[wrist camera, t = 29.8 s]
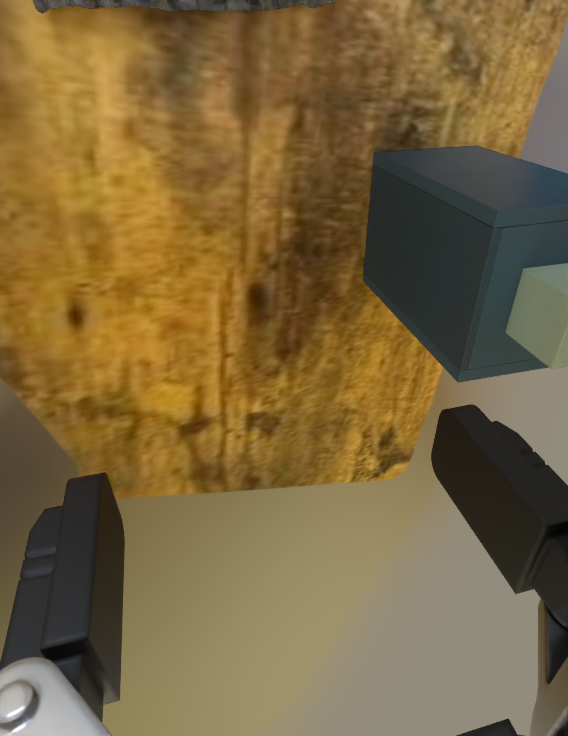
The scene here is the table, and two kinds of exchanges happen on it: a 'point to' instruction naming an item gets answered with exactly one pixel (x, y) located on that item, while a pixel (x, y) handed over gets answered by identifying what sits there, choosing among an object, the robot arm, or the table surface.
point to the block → (542, 314)
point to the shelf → (462, 249)
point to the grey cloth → (182, 4)
